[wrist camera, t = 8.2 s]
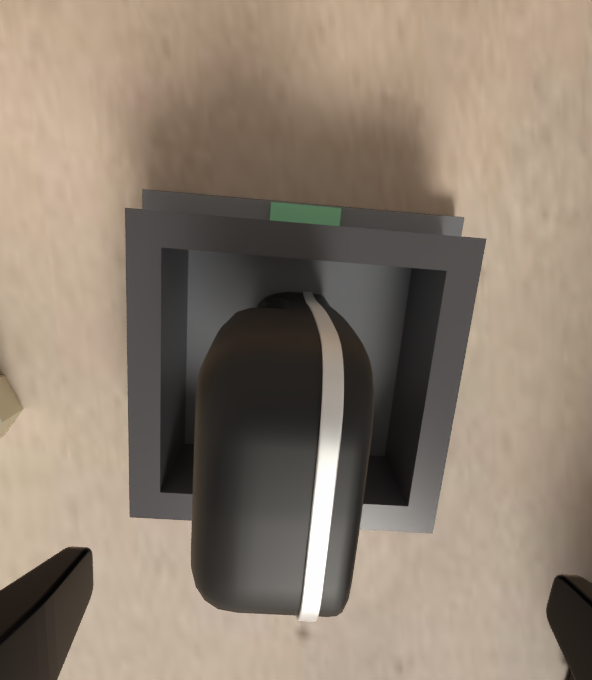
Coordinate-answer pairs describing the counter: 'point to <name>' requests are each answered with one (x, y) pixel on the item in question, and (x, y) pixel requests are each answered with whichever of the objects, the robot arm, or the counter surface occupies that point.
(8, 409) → the valve
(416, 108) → the counter surface
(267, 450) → the battery charger
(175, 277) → the dock
